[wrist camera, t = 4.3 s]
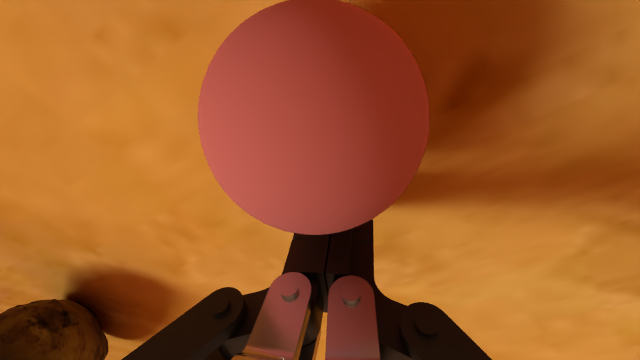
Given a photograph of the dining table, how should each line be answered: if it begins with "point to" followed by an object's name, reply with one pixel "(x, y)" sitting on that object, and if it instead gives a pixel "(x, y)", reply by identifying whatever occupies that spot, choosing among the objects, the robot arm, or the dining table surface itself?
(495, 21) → the dining table surface
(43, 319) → the potato
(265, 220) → the ball
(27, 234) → the dining table surface
